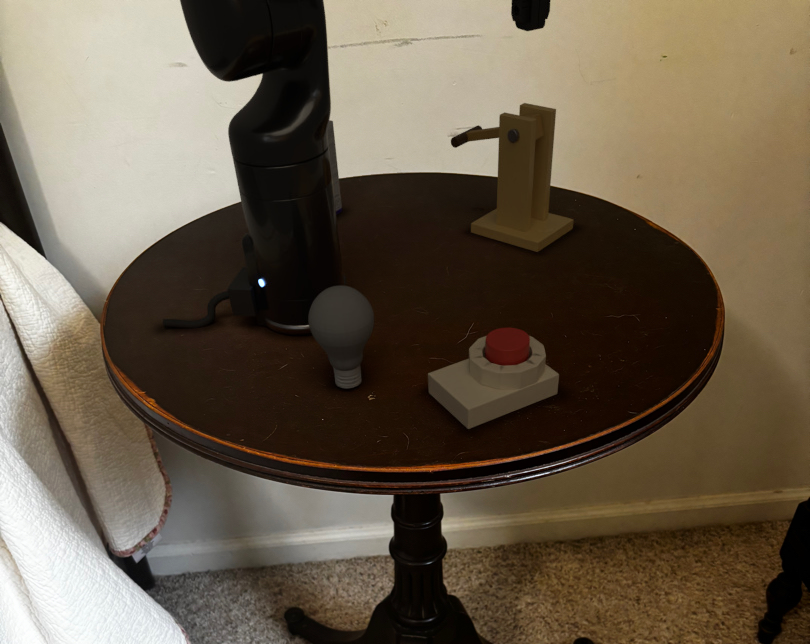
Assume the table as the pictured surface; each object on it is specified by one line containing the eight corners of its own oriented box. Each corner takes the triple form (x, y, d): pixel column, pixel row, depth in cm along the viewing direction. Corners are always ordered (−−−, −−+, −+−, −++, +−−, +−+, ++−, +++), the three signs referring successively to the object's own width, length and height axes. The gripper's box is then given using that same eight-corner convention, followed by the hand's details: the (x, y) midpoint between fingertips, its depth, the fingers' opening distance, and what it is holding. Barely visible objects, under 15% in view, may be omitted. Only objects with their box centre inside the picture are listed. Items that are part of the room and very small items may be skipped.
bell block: (468, 429, 72) (468, 392, 69) (428, 392, 76) (426, 356, 73) (557, 394, 75) (561, 357, 72) (514, 360, 79) (516, 324, 77)
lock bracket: (470, 232, 101) (471, 114, 91) (507, 210, 105) (511, 95, 95) (537, 252, 96) (545, 129, 86) (572, 228, 100) (584, 109, 91)
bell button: (501, 372, 72) (502, 355, 70) (476, 352, 74) (477, 335, 73) (537, 358, 73) (538, 341, 72) (512, 339, 75) (513, 322, 74)
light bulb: (371, 404, 75) (362, 307, 68) (310, 400, 76) (295, 304, 69) (385, 370, 79) (378, 275, 72) (327, 366, 80) (314, 272, 73)
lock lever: (452, 153, 98) (448, 132, 96) (477, 141, 100) (473, 120, 99) (526, 145, 91) (522, 122, 89) (550, 132, 93) (547, 109, 92)
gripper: (587, -275, 58) (565, 7, 70) (431, -264, 54) (436, 34, 66) (659, -281, 53) (622, 23, 65) (494, -270, 49) (488, 52, 61)
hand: (529, 28), depth 65 cm, fingers closed
